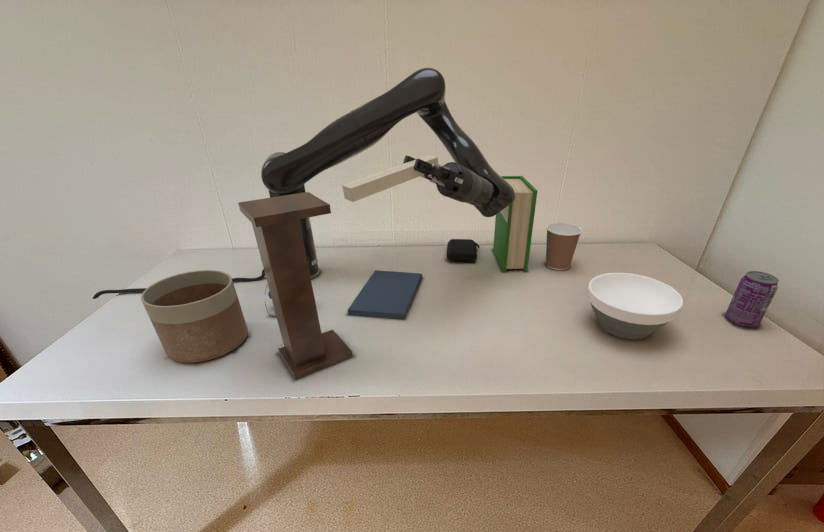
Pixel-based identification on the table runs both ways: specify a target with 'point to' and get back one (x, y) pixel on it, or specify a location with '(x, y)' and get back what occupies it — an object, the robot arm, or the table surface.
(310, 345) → the pedestal
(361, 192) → the rod
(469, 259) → the carrying case
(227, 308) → the planter
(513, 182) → the hardback book
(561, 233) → the coffee cup
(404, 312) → the notebook
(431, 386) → the table surface
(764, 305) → the beverage can
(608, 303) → the bowl
